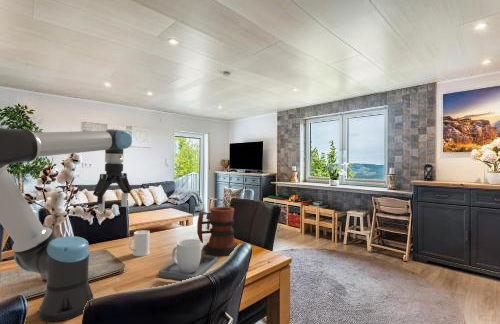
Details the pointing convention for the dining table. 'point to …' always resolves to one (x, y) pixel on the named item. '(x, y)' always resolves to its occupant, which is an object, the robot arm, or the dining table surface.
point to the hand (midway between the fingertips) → (113, 208)
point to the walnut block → (202, 256)
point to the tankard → (218, 231)
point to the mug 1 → (141, 243)
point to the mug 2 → (187, 255)
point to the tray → (175, 272)
